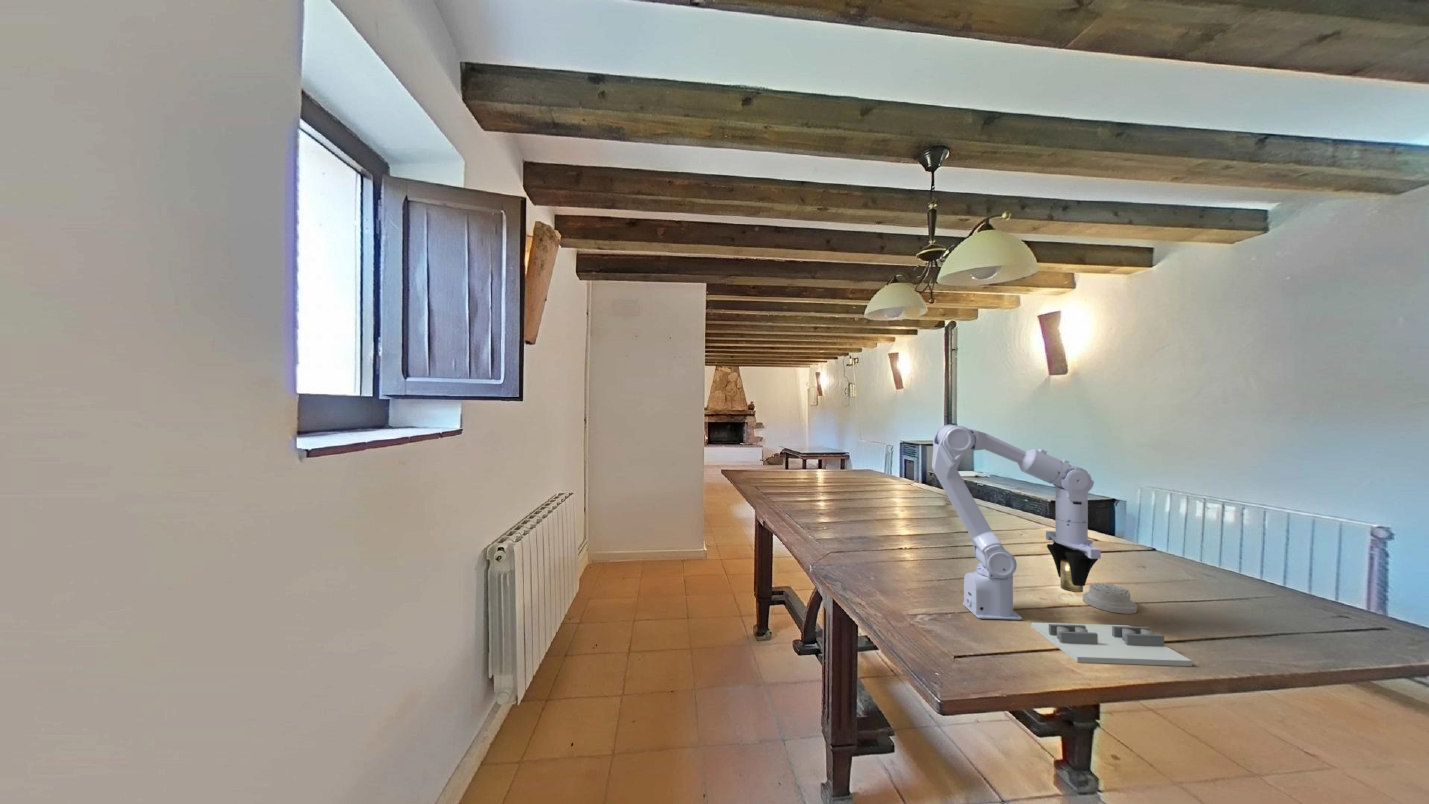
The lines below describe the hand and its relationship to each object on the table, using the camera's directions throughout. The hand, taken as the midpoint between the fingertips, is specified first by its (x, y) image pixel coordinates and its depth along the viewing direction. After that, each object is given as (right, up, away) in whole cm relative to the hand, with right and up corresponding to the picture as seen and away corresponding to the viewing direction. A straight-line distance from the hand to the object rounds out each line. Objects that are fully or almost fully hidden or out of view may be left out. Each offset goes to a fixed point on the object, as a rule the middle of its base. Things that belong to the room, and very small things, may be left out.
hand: (1071, 581), depth 105 cm
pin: (0, -2, 0) cm, 2 cm away
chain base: (-2, -9, -11) cm, 14 cm away
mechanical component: (+15, -9, +8) cm, 20 cm away
